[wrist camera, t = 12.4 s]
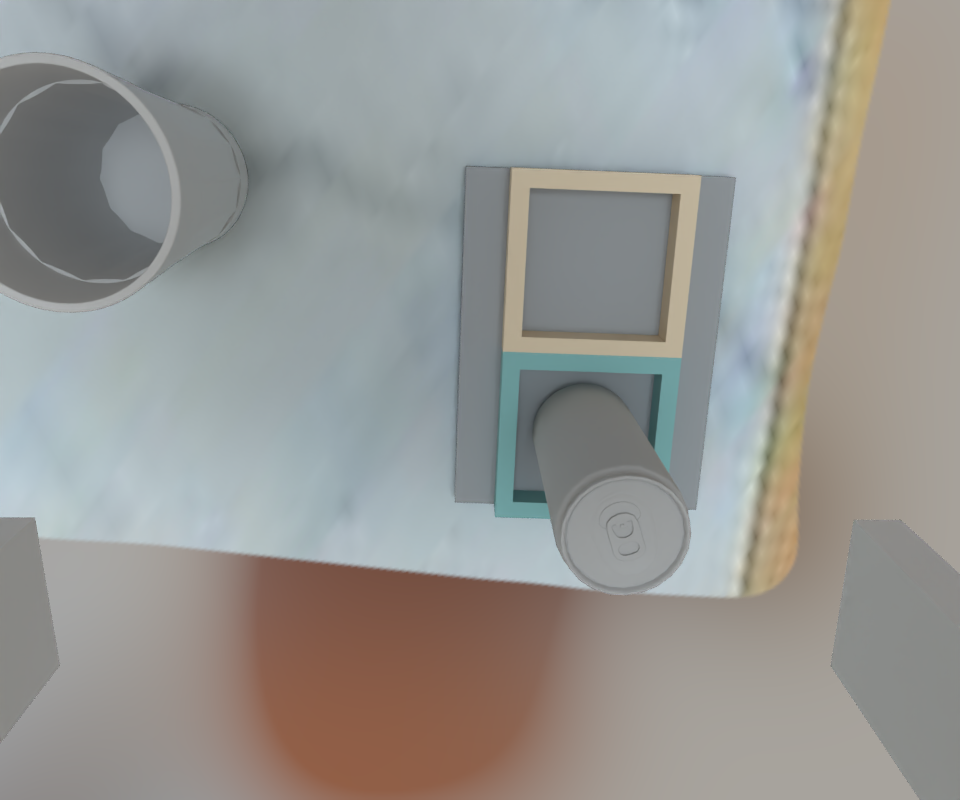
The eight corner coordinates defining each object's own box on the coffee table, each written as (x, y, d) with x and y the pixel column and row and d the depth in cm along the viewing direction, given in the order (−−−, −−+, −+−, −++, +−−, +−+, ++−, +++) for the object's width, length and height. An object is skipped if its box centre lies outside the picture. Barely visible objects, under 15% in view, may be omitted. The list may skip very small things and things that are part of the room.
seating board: (466, 165, 38) (466, 165, 36) (729, 175, 39) (747, 177, 36) (454, 495, 43) (454, 515, 40) (690, 502, 43) (703, 523, 41)
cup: (192, 300, 40) (81, 361, 28) (52, 180, 38) (-127, 192, 27) (302, 173, 38) (232, 183, 27) (161, 42, 37) (22, -8, 25)
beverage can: (616, 367, 40) (676, 454, 28) (641, 458, 41) (709, 577, 30) (519, 397, 40) (539, 495, 29) (547, 487, 42) (577, 614, 30)
